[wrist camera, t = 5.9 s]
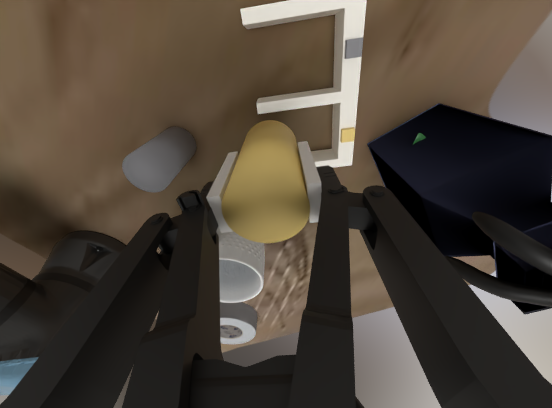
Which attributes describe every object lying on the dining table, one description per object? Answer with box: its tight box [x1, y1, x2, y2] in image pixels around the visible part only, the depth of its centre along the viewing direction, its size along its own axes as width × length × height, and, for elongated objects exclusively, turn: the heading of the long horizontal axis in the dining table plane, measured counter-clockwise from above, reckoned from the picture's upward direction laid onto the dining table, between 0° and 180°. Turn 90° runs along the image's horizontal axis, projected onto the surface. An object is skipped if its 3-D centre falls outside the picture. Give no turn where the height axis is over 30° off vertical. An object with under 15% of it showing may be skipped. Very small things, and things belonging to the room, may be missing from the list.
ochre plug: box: [221, 120, 310, 243], centre depth 16 cm, size 5×5×10 cm
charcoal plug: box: [122, 127, 196, 192], centre depth 28 cm, size 5×5×10 cm
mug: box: [217, 227, 265, 303], centre depth 35 cm, size 15×11×13 cm
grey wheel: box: [220, 302, 257, 344], centre depth 59 cm, size 15×15×5 cm
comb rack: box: [240, 0, 367, 168], centre depth 26 cm, size 12×18×5 cm, turn 7°
